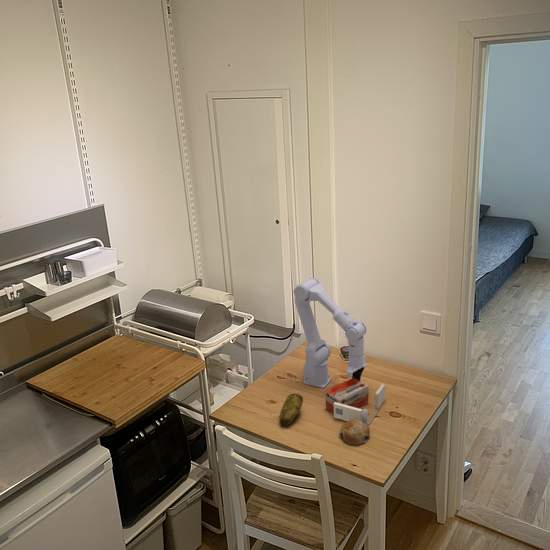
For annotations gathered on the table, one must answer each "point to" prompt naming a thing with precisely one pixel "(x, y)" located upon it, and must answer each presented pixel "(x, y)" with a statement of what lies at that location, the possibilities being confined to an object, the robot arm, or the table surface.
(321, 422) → the table surface
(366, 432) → the bread roll
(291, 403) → the olive-green oval lump
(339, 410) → the door
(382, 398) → the white upright panel
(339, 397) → the medicine box
